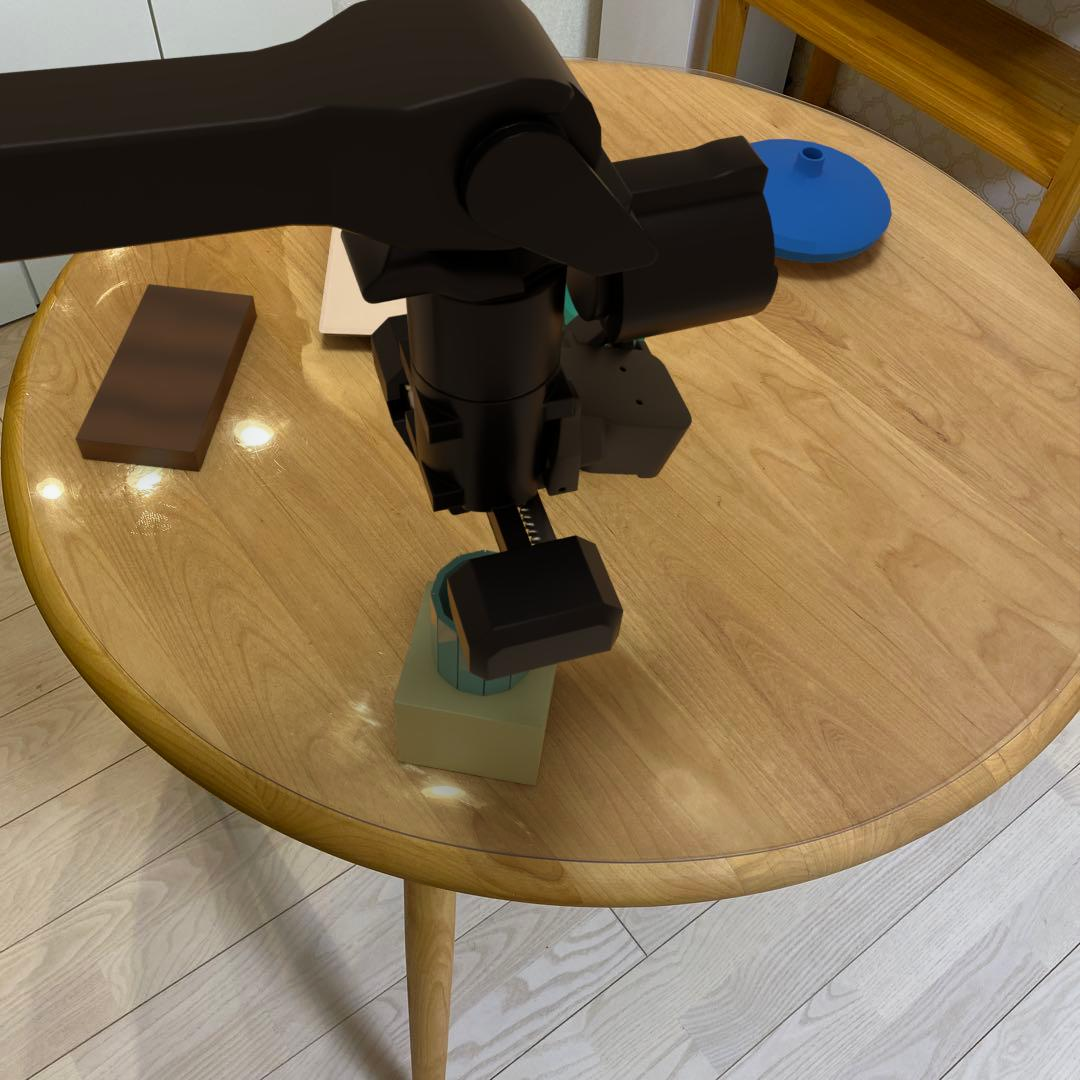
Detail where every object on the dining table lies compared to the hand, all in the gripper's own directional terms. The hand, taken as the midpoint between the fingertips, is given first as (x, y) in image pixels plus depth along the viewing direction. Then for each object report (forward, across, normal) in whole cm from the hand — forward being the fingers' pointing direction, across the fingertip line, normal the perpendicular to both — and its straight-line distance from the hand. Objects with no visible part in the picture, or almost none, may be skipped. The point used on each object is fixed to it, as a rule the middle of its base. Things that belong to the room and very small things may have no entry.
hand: (485, 582), depth 54 cm
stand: (+14, 0, 0) cm, 14 cm away
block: (+13, +32, +14) cm, 37 cm away
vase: (+15, +39, -39) cm, 57 cm away
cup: (+7, 0, 0) cm, 7 cm away
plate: (+14, +39, -8) cm, 42 cm away
